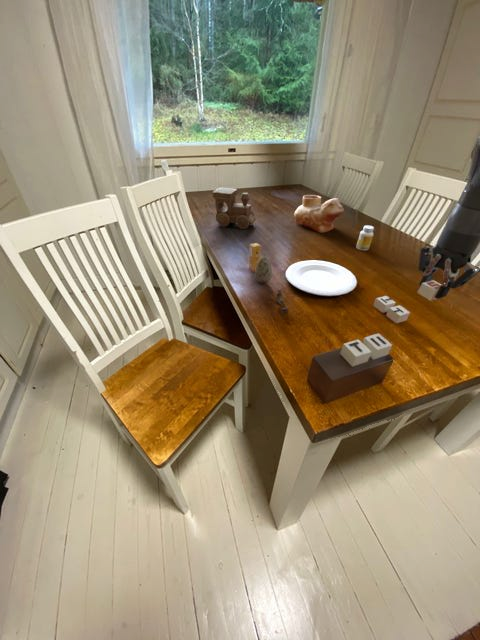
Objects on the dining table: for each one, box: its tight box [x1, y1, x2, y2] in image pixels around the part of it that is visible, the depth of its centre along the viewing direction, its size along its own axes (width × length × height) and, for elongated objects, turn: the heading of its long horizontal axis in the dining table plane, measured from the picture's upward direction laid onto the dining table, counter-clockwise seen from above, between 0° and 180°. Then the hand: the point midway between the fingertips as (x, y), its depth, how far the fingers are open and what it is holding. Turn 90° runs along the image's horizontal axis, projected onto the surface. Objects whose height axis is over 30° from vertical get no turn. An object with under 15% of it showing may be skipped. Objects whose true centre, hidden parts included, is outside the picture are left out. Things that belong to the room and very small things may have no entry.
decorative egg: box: [254, 256, 273, 284], centre depth 94 cm, size 6×6×10 cm
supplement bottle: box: [355, 224, 375, 252], centre depth 118 cm, size 5×5×10 cm
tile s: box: [417, 279, 442, 302], centre depth 70 cm, size 4×4×3 cm
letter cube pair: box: [372, 295, 411, 324], centre depth 83 cm, size 10×4×3 cm, turn 21°
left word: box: [340, 332, 393, 367], centre depth 58 cm, size 4×10×3 cm, turn 111°
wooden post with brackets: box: [275, 288, 289, 313], centre depth 86 cm, size 2×8×4 cm, turn 10°
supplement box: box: [248, 242, 262, 273], centre depth 102 cm, size 3×4×10 cm
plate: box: [285, 259, 358, 297], centre depth 98 cm, size 25×25×2 cm
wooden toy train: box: [212, 187, 257, 230], centre depth 138 cm, size 20×11×17 cm, turn 72°
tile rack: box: [306, 340, 395, 405], centre depth 61 cm, size 7×16×8 cm, turn 111°
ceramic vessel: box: [293, 194, 345, 234], centre depth 138 cm, size 14×26×15 cm, turn 41°
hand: (430, 292), depth 70 cm, fingers closed on tile s, 4 cm apart
